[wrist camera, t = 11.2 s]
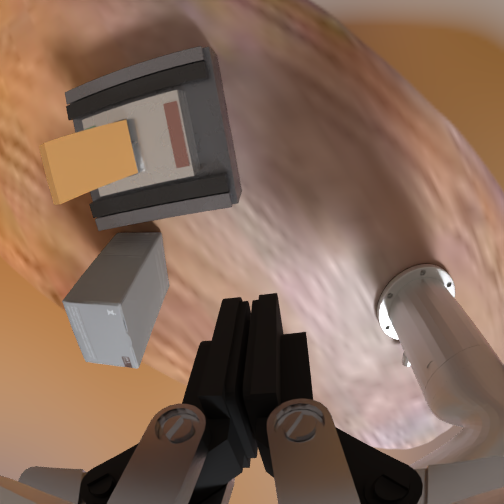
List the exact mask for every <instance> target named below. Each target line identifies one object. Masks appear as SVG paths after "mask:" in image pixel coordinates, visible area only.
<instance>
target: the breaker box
mask: <svg viewBox="0 0 504 504" xmlns="http://www.w3.org/2000/svg"><path fill="white" fill-rule="evenodd" d="M65 97H66V102H67V104H70V105H68V106H66V108H67V114H68V119H69V120H73V122H74V127H75V132H76V133H77V132H80V131H84V130H87V129H91V128H95V127H98V126H102V125H106V124H110V123H113V122H115V121H119V120H122V119H127V120H128V125H129V130H130V135H131V139H132V144H133V148H134V153H135V157H136V161H137V166H138V170H139V174H136V175H133V176H130V177H126V178H123V179H120V180H118V181H115V182H113V183H110V184H107V185H105V186H102V187H100V188H97V189H95V190H93V191H90V193H91V197H92V200H93V202H92V203H90V204H89V205H90V208H91V211H92V215H93V218H96V217H97V218H96V219H95V221H96V224H97V227H98V231H101V230H106V229H111V228H116V227H121V226H126V225H131V224H136V223H142V222H147V221H152V220H158V219H163V218H169V217H175V216H180V215H186V214H192V213H198V212H204V211H210V210H216V209H223V208H229V207H232V205H233V204H236V203H238V202H239V199H240V195H241V192H242V189H241V184H240V178H239V173H238V167H237V162H236V156H235V151H234V145H233V140H232V135H231V129H230V124H229V118H228V113H227V107H226V102H225V97H224V91H223V86H222V80H221V75H220V70H219V64H218V59H217V55H216V54H215V53H214V52H213V50H212V49H211V48H210V47H205V48H203V47H202V46H199V47H195V48H191V49H187V50H183V51H179V52H175V53H172V54H168V55H165V56H161V57H158V58H154V59H151V60H148V61H145V62H142V63H139V64H136V65H133V66H130V67H127V68H124V69H121V70H118V71H116V72H113V73H110V74H108V75H105V76H102V77H100V78H97V79H95V80H92V81H90V82H88V83H85V84H83V85H81V86H78V87H76V88H74V89H71V90H69V91H67V92H65Z"/></svg>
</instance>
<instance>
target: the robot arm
mask: <svg viewBox="0 0 504 504" xmlns="http://www.w3.org/2000/svg"><path fill="white" fill-rule="evenodd" d="M377 318H378V321H379V324H380V326H381V328H382V330H383V331H384V332H385V333H386V334H387V335H388V336H390V337H392V338H394V339H398V340H399V341H400V343H401V345H402V347H403V350H404V353H403V358H402V364H403V365H404V366H407V367H408V366H411V367H412V369H413V372H414V374H415V376H416V379H417V381H418V383H419V386H420V388H421V390H422V393H423V395H424V397H425V400H426V402H427V404H428V407H429V408H430V410H431V412H432V413H433V414H434V415H435V416H436V417H437V418H438V419H440V420H442V421H444V422H446V423H449V424H452V425H456V426H460V427H463V429H462V430H461V431H460V433H458V434H457V435H456V436H454V437H453V438H452V439H450V441H448V442H447V443H445V444H444V445H442V446H441V447H439V448H438V449H437V450H434V451H433V452H432V453H430V454H428V455H426V456H425V457H423V458H421V459H420V460H418V461H416V462H415V463H413V464H411V465H410V466H409V465H407V464H405V463H402V462H400V461H398V460H396V459H394V458H392V457H390V456H388V455H386V454H384V453H382V452H380V451H378V450H376V449H375V448H373V447H371V446H369V445H367V444H365V443H363V442H361V441H360V440H358V439H356V438H354V437H352V436H350V435H349V434H347V433H345V432H343V431H341V430H340V429H338V428H336V427H335V425H334V422H333V419H332V416H331V414H330V412H329V411H328V409H327V408H326V407H325V406H324V405H323V404H321V403H320V402H317V401H315V400H313V394H312V384H311V374H310V365H309V356H308V347H307V338H306V332H301V333H292V334H283V328H282V321H281V315H280V308H279V301H278V295H277V293H274V294H265V295H259V300H253V302H252V311H250V306H249V303H248V301H243V302H242V299H241V297H237V298H228V299H223V300H222V303H221V307H220V311H219V315H218V319H217V322H216V326H215V330H214V334H213V338H212V341H202V342H201V343H200V345H199V348H198V351H197V355H196V358H195V361H194V365H193V368H192V371H191V375H190V378H189V382H188V385H187V388H186V392H185V395H184V399H183V402H182V404H175V405H170V406H168V407H166V408H164V409H162V410H161V411H159V412H158V413H157V414H156V415H155V416H154V417H153V419H152V420H151V422H150V424H149V425H148V427H147V429H146V431H145V433H144V435H143V436H142V439H141V440H140V442H139V443H138V444H137V445H135V446H133V447H131V448H130V449H128V450H126V451H124V452H123V453H121V454H119V455H117V456H115V457H114V458H111V459H110V460H108V461H106V462H104V463H102V464H100V465H98V466H96V467H95V468H93V469H91V470H90V471H89V472H85V471H84V470H83V469H63V468H49V467H48V468H47V467H37V466H36V467H30V468H28V469H26V470H25V471H24V472H23V473H22V474H21V476H20V478H19V481H15V480H13V479H10V478H7V477H3V476H0V504H228V503H229V500H230V496H231V493H232V490H233V487H234V480H235V479H234V478H235V477H236V476H238V475H239V474H240V473H242V470H243V468H249V467H250V458H256V457H257V450H258V449H259V452H260V455H261V458H262V461H263V464H264V467H265V470H266V472H267V473H269V474H270V475H271V476H272V477H274V479H275V485H276V492H277V498H278V504H504V364H503V363H502V362H501V360H500V359H499V357H498V356H497V354H496V353H495V351H494V350H493V349H492V347H491V346H490V344H489V343H488V342H487V340H486V339H485V337H484V336H483V335H482V333H481V332H480V331H479V329H478V328H477V327H476V325H475V324H474V323H473V321H472V320H471V319H470V317H469V316H468V315H467V313H466V312H465V311H464V310H463V308H462V307H461V306H460V304H459V303H458V302H457V301H456V299H455V285H454V282H453V280H452V278H451V277H450V275H449V274H448V273H447V272H446V271H445V270H444V269H442V268H441V267H439V266H436V265H433V264H422V265H417V266H413V267H411V268H409V269H407V270H405V271H403V272H401V273H400V274H399V275H397V276H396V277H395V278H394V279H393V280H392V281H391V282H390V283H389V284H388V285H387V287H386V288H385V289H384V291H383V293H382V295H381V297H380V299H379V302H378V307H377Z"/></svg>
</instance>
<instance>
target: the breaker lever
mask: <svg viewBox="0 0 504 504" xmlns="http://www.w3.org/2000/svg"><path fill="white" fill-rule="evenodd" d="M39 149H40V154H41V158H42V162H43V166H44V170H45V174H46V178H47V182H48V185H49V189H50V192H51V196H52V199H53V203H54V205H57V204H62V203H64V202H67V201H69V200H71V199H74V198H76V197H78V196H81V195H83V194H85V193H88V192H90V191H93V190H95V189H97V188H100V187H102V186H105V185H107V184H110V183H113V182H115V181H118V180H120V179H123V178H126V177H130V176H133V175H136V174H139V170H138V166H137V161H136V157H135V153H134V148H133V144H132V139H131V135H130V130H129V125H128V120H127V119H122V120H119V121H115V122H113V123H110V124H106V125H102V126H98V127H95V128H91V129H87V130H84V131H80V132H77V133H74V134H70V135H67V136H64V137H60V138H57V139H54V140H51V141H48V142H45V143H43V144H42V145H40V146H39Z"/></svg>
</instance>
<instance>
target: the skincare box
mask: <svg viewBox="0 0 504 504" xmlns="http://www.w3.org/2000/svg"><path fill="white" fill-rule="evenodd" d="M168 287H169V281H168V274H167V268H166V261H165V254H164V247H163V239H162V233H161V232H150V233H117V234H116V235H115V236H114V237H113V238H112V239H111V241H110V242H109V243H108V244H107V245H106V247H105V248H104V249H103V250H102V251H101V253H100V254H99V255H98V256H97V258H96V259H95V260H94V261H93V262H92V264H91V265H90V266H89V267H88V269H87V270H86V271H85V272H84V274H83V275H82V276H81V277H80V279H79V280H78V281H77V283H76V284H75V285H74V287H73V288H72V289H71V290H70V292H69V293H68V294H67V296H66V297H65V298H64V300H63V304H64V307H65V310H66V313H67V315H68V318H69V321H70V324H71V327H72V329H73V332H74V335H75V337H76V339H77V342H78V345H79V347H80V349H81V351H82V354H83V357H84V359H85V361H86V362H92V363H99V364H107V365H114V366H122V367H131V368H138V367H139V366H140V363H141V360H142V357H143V354H144V352H145V349H146V346H147V343H148V340H149V338H150V335H151V332H152V329H153V326H154V324H155V321H156V318H157V316H158V313H159V311H160V308H161V305H162V303H163V300H164V297H165V295H166V292H167V290H168Z"/></svg>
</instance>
